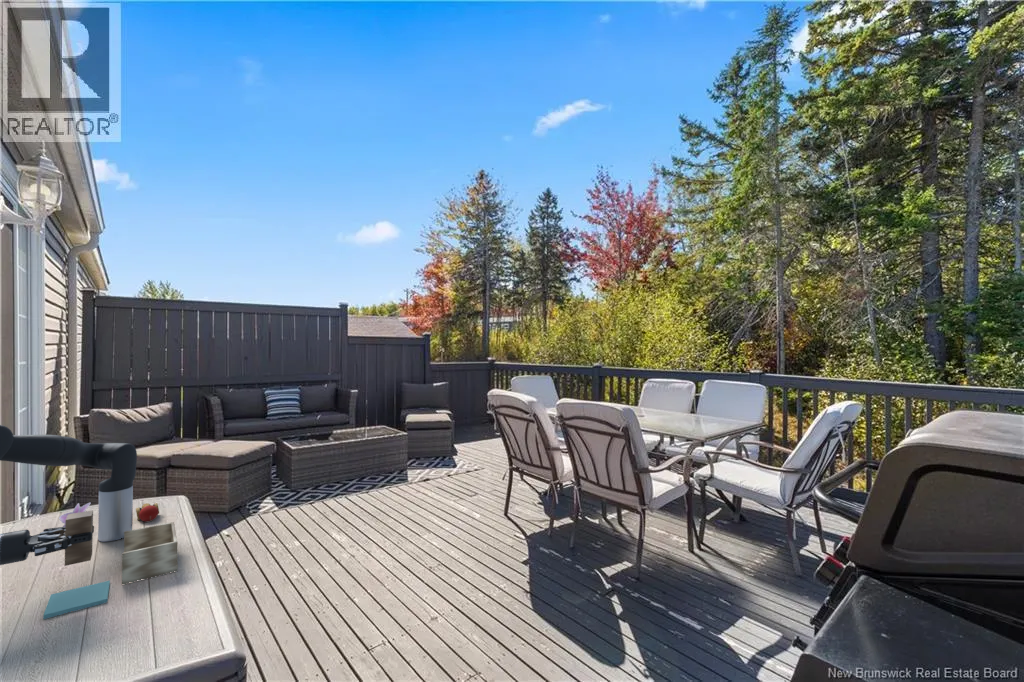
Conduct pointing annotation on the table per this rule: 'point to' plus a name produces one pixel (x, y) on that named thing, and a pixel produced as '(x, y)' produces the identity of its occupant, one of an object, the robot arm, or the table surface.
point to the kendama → (147, 512)
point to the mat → (77, 599)
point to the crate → (149, 552)
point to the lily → (76, 510)
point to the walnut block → (79, 525)
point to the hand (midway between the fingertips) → (92, 532)
